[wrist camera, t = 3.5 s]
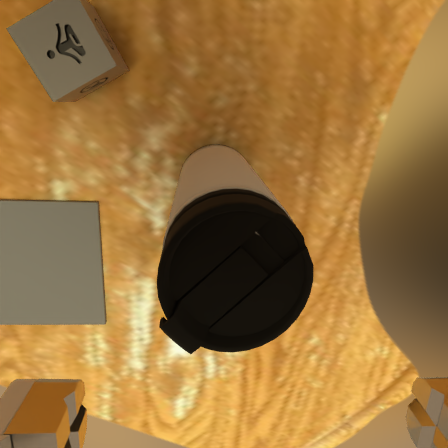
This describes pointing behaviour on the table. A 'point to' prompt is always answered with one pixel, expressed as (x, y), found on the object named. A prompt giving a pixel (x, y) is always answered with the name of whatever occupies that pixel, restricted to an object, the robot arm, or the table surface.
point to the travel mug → (229, 258)
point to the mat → (51, 263)
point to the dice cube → (68, 49)
